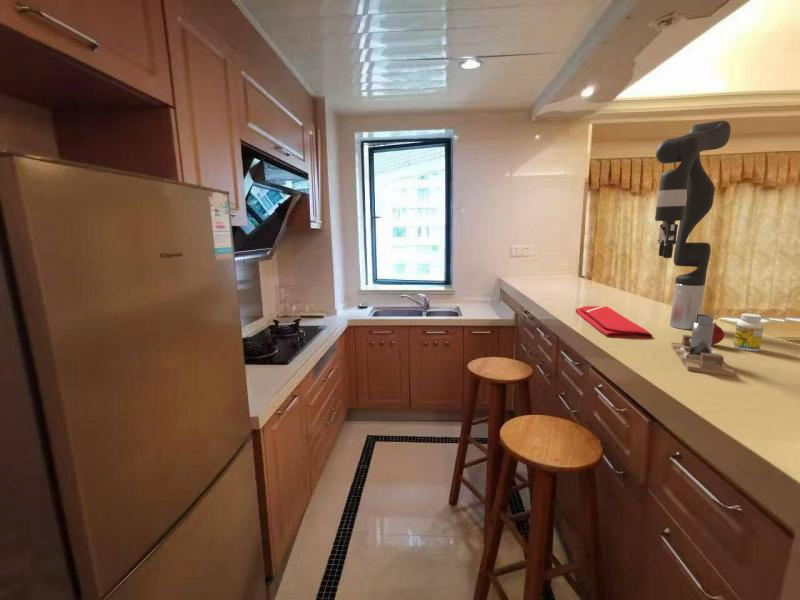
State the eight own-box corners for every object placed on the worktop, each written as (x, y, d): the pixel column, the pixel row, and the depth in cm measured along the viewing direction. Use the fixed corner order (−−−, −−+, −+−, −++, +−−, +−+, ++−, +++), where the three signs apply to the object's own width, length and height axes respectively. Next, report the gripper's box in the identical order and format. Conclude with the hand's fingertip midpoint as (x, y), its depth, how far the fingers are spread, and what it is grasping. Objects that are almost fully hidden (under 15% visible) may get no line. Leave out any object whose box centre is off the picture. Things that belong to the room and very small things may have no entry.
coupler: (687, 351, 114) (692, 313, 112) (707, 353, 112) (712, 314, 110) (691, 356, 110) (696, 316, 108) (711, 359, 108) (717, 318, 106)
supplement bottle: (765, 351, 117) (771, 317, 115) (746, 352, 117) (751, 317, 115) (746, 345, 123) (751, 312, 121) (727, 345, 123) (733, 313, 121)
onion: (726, 348, 121) (730, 324, 119) (706, 347, 122) (710, 324, 120) (715, 342, 126) (718, 320, 125) (696, 342, 127) (699, 319, 126)
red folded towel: (605, 338, 135) (606, 328, 135) (574, 313, 175) (574, 305, 174) (652, 339, 133) (653, 329, 132) (609, 313, 172) (610, 305, 171)
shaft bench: (671, 345, 124) (673, 331, 123) (708, 349, 120) (710, 334, 119) (688, 370, 103) (690, 353, 102) (734, 376, 98) (737, 358, 98)
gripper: (691, 203, 108) (684, 259, 111) (680, 205, 120) (674, 255, 123) (660, 205, 111) (654, 258, 114) (653, 206, 124) (647, 255, 127)
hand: (664, 256), depth 119 cm, fingers open, 8 cm apart
